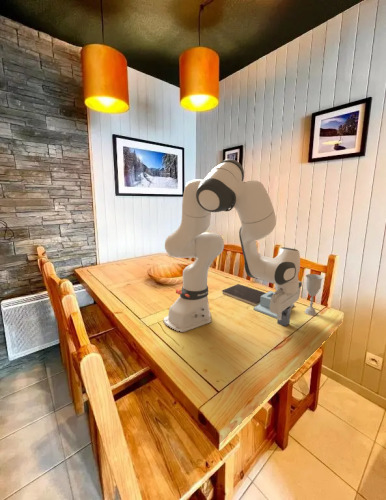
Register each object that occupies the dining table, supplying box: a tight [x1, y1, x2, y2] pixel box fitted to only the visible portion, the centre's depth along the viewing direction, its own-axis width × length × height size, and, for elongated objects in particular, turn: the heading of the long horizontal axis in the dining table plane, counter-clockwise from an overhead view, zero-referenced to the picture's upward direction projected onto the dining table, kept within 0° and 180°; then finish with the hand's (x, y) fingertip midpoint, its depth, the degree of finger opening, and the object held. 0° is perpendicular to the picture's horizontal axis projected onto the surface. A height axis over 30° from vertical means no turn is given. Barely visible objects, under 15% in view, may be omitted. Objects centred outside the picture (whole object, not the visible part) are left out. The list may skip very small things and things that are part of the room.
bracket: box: [276, 307, 292, 327], centre depth 98 cm, size 3×6×8 cm, turn 43°
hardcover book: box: [221, 283, 267, 307], centre depth 127 cm, size 16×23×2 cm
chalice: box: [304, 273, 324, 316], centre depth 105 cm, size 7×7×18 cm
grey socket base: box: [253, 290, 295, 319], centre depth 111 cm, size 18×12×6 cm, turn 133°
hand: (283, 316), depth 97 cm, fingers open, 6 cm apart
